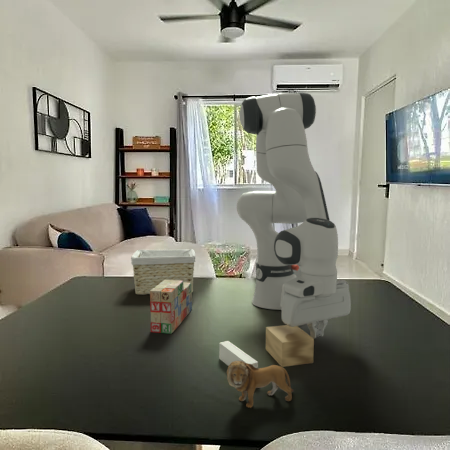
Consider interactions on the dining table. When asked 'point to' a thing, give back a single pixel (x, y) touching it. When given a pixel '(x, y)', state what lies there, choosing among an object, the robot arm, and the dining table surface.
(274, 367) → the lion figurine
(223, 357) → the fence board
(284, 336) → the oak block
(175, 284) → the stack of blocks
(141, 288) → the storage basket
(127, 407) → the dining table surface
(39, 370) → the dining table surface
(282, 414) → the dining table surface
